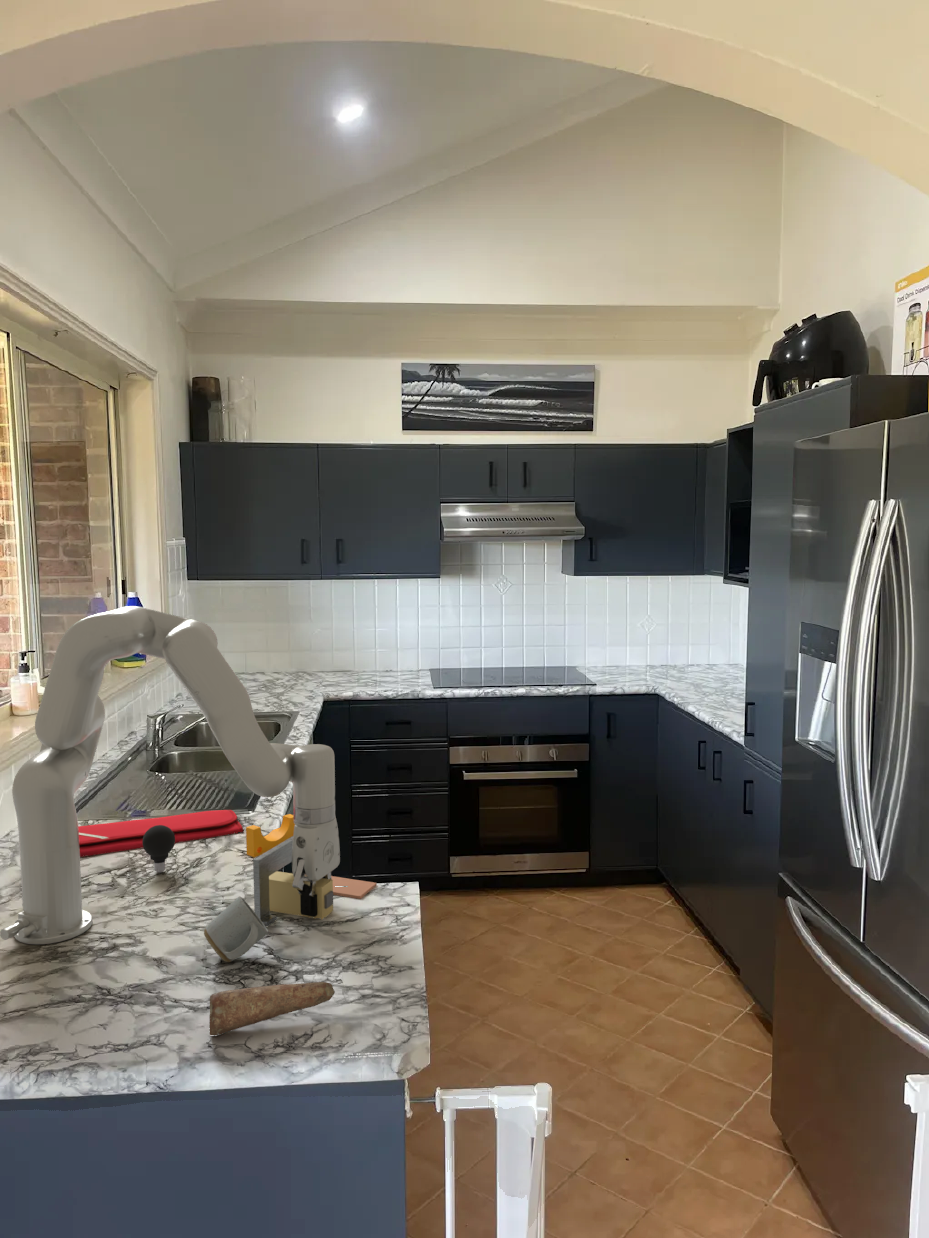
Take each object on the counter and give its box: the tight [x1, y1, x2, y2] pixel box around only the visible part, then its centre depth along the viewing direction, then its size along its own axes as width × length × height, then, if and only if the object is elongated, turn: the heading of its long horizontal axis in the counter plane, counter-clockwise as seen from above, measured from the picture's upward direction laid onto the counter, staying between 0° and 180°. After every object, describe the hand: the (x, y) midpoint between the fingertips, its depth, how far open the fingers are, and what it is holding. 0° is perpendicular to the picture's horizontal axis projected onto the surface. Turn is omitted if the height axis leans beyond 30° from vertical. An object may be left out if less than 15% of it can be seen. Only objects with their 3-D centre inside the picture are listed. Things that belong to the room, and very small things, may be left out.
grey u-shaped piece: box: [252, 836, 307, 927], centre depth 166 cm, size 16×4×12 cm, turn 159°
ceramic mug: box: [203, 896, 269, 963], centre depth 145 cm, size 11×8×8 cm
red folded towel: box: [78, 809, 244, 858], centre depth 206 cm, size 16×41×4 cm, turn 116°
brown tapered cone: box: [209, 981, 335, 1036], centre depth 127 cm, size 6×18×6 cm, turn 114°
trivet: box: [331, 875, 377, 900], centre depth 176 cm, size 7×14×1 cm, turn 69°
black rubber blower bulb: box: [142, 825, 176, 874], centre depth 184 cm, size 6×6×10 cm
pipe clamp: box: [245, 813, 295, 858], centre depth 198 cm, size 12×4×6 cm, turn 140°
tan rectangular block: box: [269, 870, 334, 920], centre depth 165 cm, size 4×12×6 cm, turn 70°
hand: (315, 908), depth 164 cm, fingers closed on tan rectangular block, 4 cm apart
